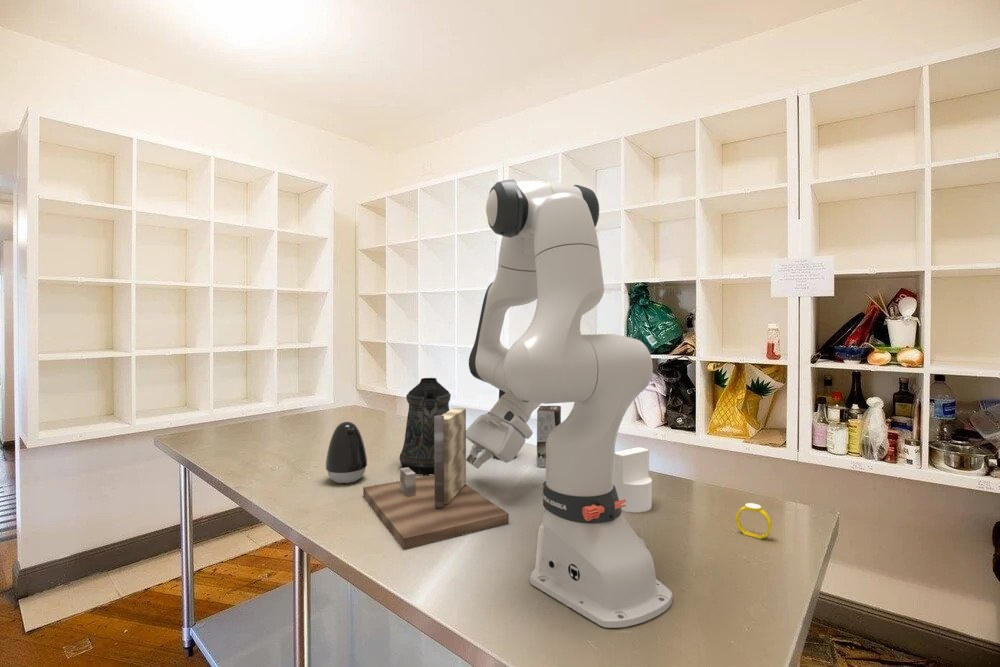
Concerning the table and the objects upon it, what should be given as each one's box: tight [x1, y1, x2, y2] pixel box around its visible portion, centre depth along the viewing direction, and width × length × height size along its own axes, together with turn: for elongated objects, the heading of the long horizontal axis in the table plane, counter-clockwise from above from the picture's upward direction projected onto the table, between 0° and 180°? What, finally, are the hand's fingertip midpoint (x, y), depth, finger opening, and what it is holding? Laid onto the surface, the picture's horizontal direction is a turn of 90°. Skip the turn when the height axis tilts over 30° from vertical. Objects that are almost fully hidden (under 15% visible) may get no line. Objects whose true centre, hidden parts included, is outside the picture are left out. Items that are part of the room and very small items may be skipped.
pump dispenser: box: [325, 421, 368, 484], centre depth 122 cm, size 10×10×15 cm
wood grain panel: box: [434, 407, 467, 508], centre depth 106 cm, size 16×3×19 cm, turn 168°
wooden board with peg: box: [362, 467, 510, 550], centre depth 104 cm, size 30×22×7 cm
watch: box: [735, 502, 773, 540], centre depth 91 cm, size 6×3×6 cm, turn 49°
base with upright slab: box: [613, 446, 653, 513], centre depth 106 cm, size 9×9×12 cm
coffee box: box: [536, 405, 562, 468], centre depth 136 cm, size 9×6×16 cm
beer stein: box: [399, 377, 452, 476], centre depth 132 cm, size 16×19×25 cm
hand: (471, 464), depth 111 cm, fingers closed
